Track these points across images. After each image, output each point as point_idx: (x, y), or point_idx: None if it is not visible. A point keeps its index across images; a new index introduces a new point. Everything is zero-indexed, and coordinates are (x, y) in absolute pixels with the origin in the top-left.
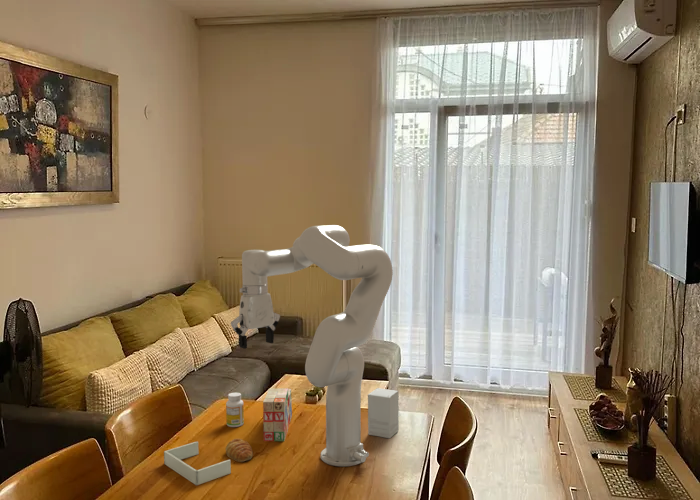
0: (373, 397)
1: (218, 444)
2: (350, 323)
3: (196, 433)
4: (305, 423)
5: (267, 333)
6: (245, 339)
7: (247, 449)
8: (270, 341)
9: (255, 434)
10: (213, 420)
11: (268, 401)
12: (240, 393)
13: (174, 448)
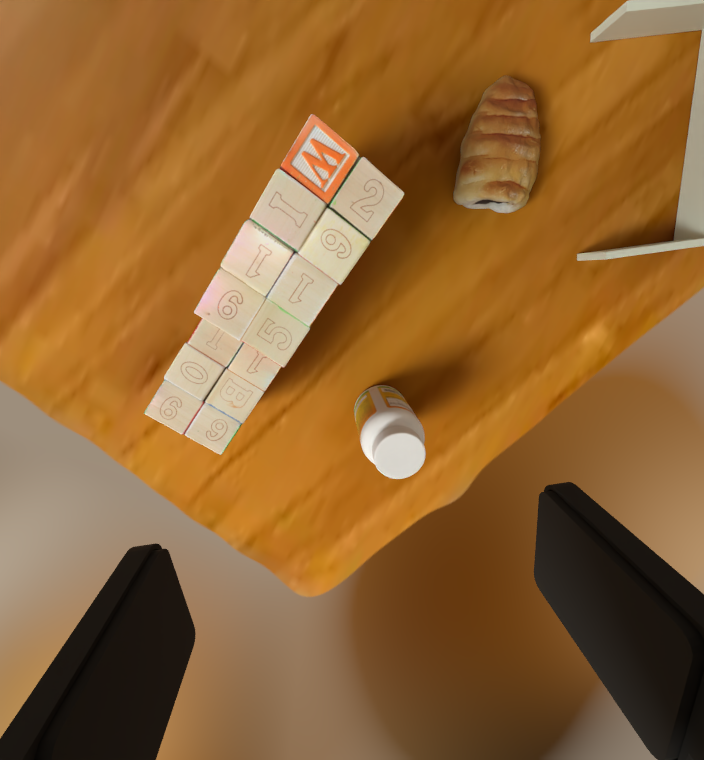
0: None
1: (497, 288)
2: None
3: (501, 405)
4: (174, 283)
5: (129, 756)
6: (668, 572)
7: (500, 105)
8: (161, 576)
9: (368, 295)
10: None
11: (381, 176)
12: (375, 454)
13: (685, 245)
